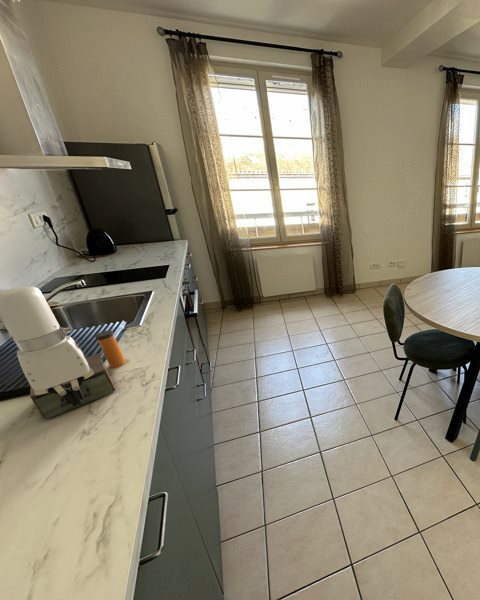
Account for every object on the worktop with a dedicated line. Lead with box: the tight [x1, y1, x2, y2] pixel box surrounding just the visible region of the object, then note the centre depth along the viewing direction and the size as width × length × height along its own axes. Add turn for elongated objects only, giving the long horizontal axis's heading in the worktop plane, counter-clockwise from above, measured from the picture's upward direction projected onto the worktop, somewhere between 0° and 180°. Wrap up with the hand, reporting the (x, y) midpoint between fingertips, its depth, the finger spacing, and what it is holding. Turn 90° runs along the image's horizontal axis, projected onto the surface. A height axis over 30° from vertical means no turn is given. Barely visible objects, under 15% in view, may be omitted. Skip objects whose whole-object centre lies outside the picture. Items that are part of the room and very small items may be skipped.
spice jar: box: [94, 329, 127, 369], centre depth 104 cm, size 4×4×12 cm
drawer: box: [35, 374, 114, 420], centre depth 89 cm, size 17×13×6 cm
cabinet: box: [29, 353, 116, 419], centre depth 91 cm, size 14×15×8 cm
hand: (77, 403), depth 82 cm, fingers closed
